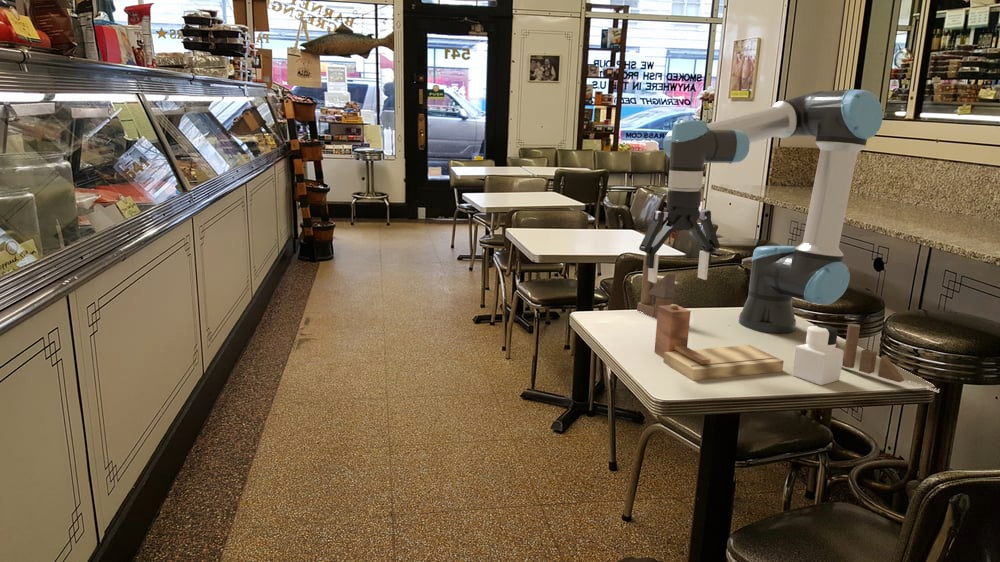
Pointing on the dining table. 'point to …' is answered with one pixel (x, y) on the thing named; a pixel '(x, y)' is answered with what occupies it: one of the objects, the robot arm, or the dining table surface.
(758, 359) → the board
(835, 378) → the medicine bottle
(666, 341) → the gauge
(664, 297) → the wooden post assembly
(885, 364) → the wood blocks
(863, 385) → the dining table surface
